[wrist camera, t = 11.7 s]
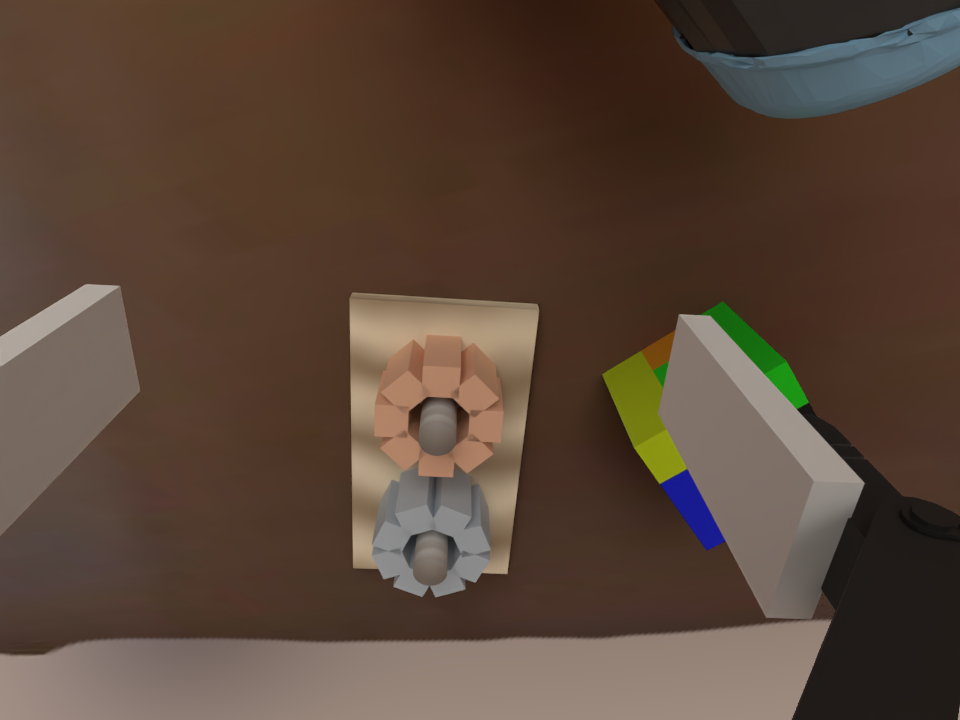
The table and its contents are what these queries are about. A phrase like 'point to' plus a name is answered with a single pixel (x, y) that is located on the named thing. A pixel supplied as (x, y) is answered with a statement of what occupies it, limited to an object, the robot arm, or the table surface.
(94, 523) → the table surface
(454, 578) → the gear
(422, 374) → the loose gear
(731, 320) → the puzzle toy
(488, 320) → the gear board
